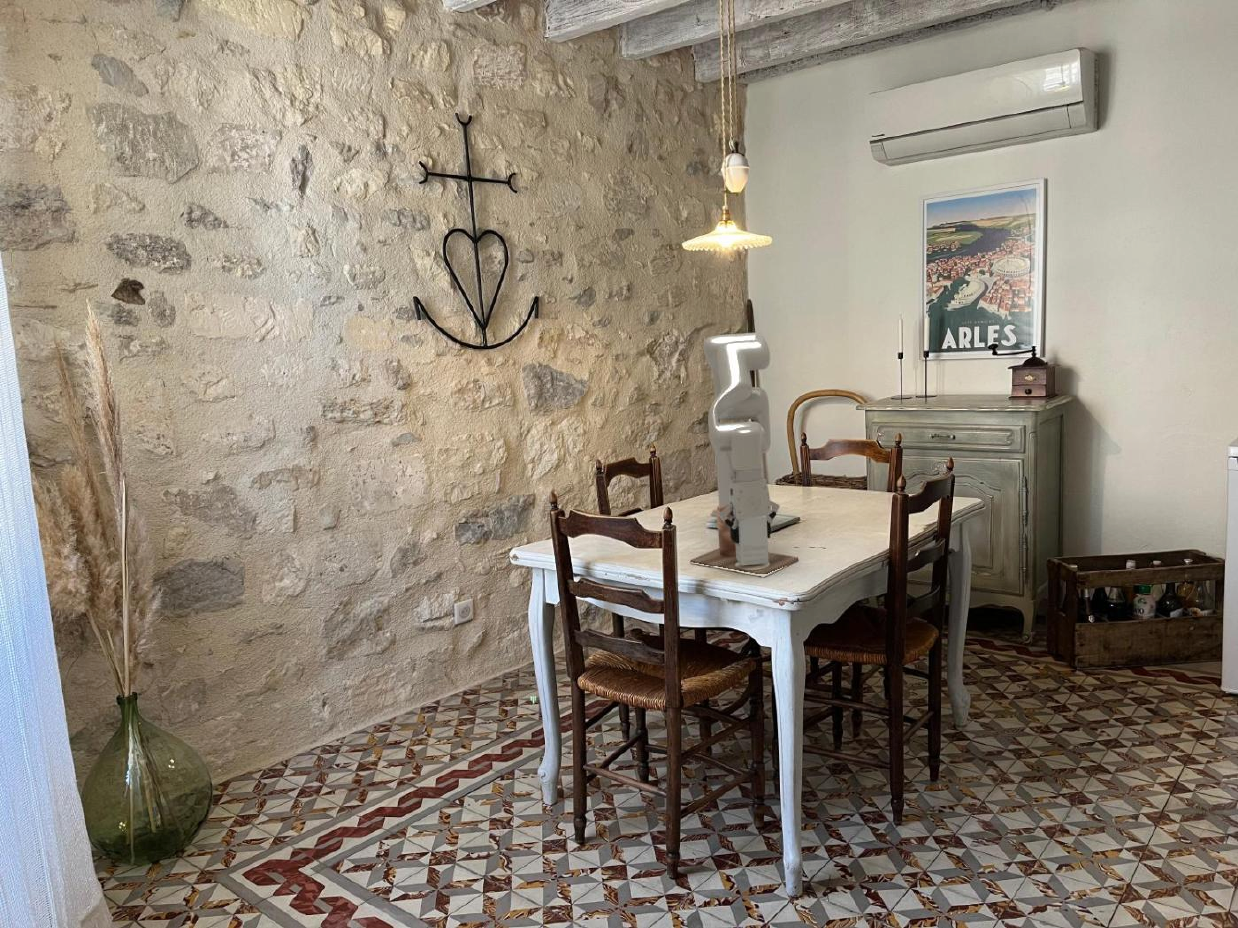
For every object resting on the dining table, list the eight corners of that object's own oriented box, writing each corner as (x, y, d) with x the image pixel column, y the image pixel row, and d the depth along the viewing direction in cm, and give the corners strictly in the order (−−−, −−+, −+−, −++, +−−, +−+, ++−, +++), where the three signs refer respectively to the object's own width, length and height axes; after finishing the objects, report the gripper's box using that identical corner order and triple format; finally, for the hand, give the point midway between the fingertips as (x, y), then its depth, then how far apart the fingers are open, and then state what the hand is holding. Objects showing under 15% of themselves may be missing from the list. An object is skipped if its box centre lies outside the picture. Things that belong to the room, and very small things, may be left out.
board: (690, 563, 256) (687, 513, 253) (726, 548, 267) (723, 500, 264) (763, 577, 239) (761, 524, 237) (798, 560, 250) (796, 510, 248)
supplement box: (762, 557, 251) (761, 510, 249) (769, 563, 243) (767, 516, 242) (735, 559, 250) (733, 512, 249) (740, 566, 243) (738, 518, 241)
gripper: (722, 482, 237) (726, 548, 240) (784, 472, 242) (787, 537, 245) (710, 476, 244) (714, 541, 247) (771, 467, 249) (774, 531, 252)
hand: (751, 539), depth 246 cm, fingers closed on supplement box, 8 cm apart
